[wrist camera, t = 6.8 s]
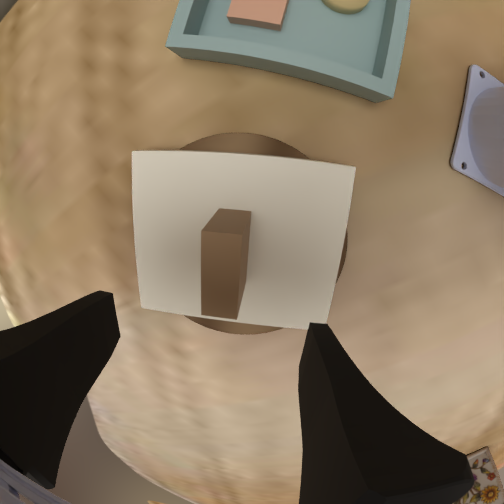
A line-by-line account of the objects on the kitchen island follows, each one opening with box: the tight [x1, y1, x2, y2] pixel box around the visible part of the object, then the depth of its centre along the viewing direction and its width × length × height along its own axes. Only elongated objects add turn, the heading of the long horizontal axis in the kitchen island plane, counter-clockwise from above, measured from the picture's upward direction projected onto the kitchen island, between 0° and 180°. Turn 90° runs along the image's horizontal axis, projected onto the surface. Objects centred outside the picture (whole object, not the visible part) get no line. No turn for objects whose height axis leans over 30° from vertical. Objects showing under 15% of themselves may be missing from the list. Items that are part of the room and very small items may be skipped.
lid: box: [132, 150, 356, 330], centre depth 16 cm, size 13×11×6 cm
